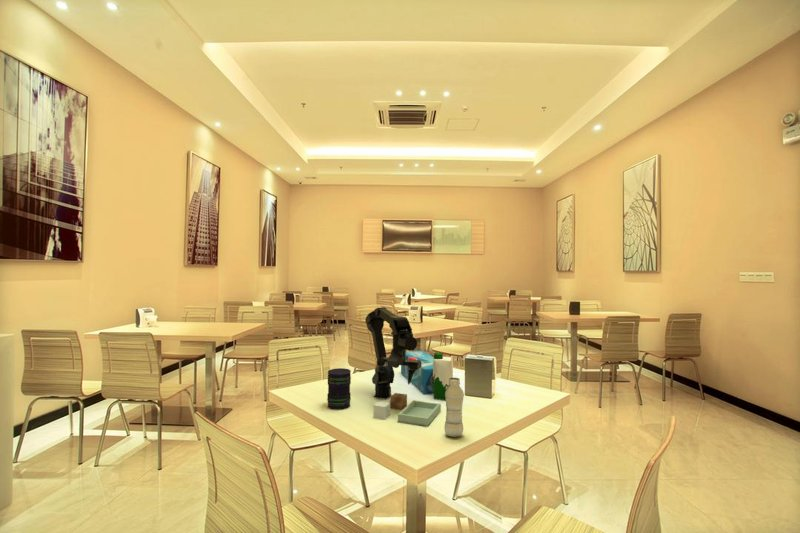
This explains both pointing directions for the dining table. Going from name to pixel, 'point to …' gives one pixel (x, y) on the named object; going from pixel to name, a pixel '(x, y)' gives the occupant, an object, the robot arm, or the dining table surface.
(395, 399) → the walnut block
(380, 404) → the cube
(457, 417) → the plastic bottle
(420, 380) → the soda box
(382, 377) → the robot arm
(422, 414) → the tray
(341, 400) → the storage jar
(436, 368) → the milk carton
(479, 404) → the dining table surface
